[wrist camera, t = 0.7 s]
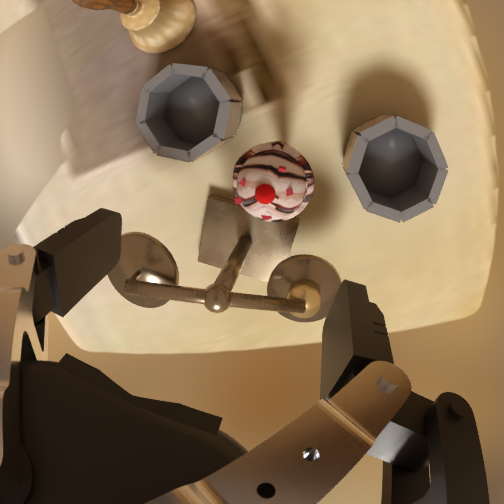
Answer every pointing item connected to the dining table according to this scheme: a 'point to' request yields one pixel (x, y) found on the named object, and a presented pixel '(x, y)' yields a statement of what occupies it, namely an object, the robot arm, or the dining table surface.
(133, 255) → the balance
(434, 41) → the dining table surface
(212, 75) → the cup
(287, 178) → the ice cream cone
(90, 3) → the hand bell
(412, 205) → the cup
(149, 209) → the dining table surface
